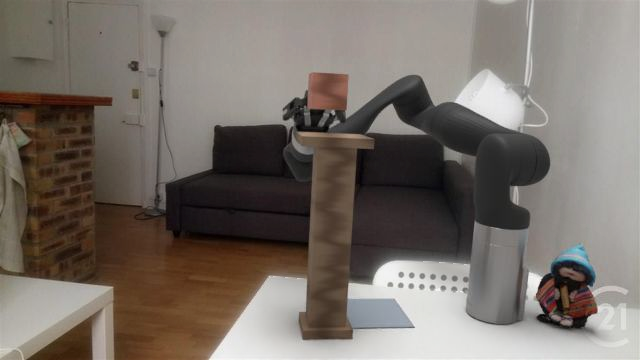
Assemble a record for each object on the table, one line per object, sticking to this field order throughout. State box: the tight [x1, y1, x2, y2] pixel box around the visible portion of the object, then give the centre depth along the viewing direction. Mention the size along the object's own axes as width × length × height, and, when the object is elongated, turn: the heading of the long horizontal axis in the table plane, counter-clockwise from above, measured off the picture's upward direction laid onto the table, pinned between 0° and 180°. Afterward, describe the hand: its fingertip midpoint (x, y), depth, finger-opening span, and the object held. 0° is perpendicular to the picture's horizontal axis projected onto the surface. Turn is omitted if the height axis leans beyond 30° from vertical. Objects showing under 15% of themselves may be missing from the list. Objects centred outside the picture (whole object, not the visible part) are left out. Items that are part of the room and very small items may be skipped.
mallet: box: [307, 71, 349, 112], centre depth 91 cm, size 6×17×6 cm, turn 8°
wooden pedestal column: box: [296, 132, 375, 341], centre depth 81 cm, size 11×10×32 cm
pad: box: [347, 298, 416, 330], centre depth 89 cm, size 11×12×1 cm
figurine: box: [535, 243, 599, 330], centre depth 87 cm, size 10×7×15 cm
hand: (321, 92), depth 93 cm, fingers closed on mallet, 3 cm apart
